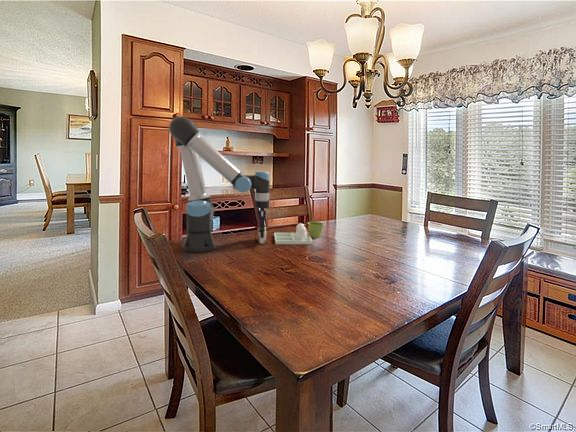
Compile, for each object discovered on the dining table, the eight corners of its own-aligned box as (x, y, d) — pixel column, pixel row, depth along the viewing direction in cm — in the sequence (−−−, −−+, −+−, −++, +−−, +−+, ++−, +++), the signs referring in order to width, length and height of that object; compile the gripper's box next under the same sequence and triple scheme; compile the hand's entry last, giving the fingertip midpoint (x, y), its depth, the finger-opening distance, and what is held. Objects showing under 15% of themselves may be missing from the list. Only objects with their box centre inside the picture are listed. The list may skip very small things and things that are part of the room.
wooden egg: (257, 242, 186) (257, 227, 185) (257, 240, 191) (257, 225, 189) (266, 242, 187) (266, 227, 185) (266, 240, 191) (266, 225, 190)
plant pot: (323, 236, 204) (324, 222, 203) (323, 240, 195) (324, 225, 193) (307, 235, 205) (308, 221, 203) (306, 239, 196) (307, 224, 194)
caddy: (275, 245, 180) (275, 240, 180) (274, 236, 200) (274, 232, 199) (312, 245, 182) (312, 240, 181) (307, 237, 201) (308, 232, 201)
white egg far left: (296, 238, 193) (297, 224, 192) (295, 236, 198) (296, 222, 197) (304, 238, 194) (305, 224, 192) (303, 236, 198) (304, 222, 197)
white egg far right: (298, 242, 184) (298, 227, 183) (297, 240, 189) (297, 226, 187) (306, 242, 184) (307, 227, 183) (305, 240, 189) (306, 226, 187)
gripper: (269, 203, 174) (269, 246, 178) (268, 198, 196) (268, 236, 200) (254, 203, 174) (254, 246, 178) (255, 197, 195) (255, 236, 199)
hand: (262, 241), depth 189 cm, fingers open, 9 cm apart
